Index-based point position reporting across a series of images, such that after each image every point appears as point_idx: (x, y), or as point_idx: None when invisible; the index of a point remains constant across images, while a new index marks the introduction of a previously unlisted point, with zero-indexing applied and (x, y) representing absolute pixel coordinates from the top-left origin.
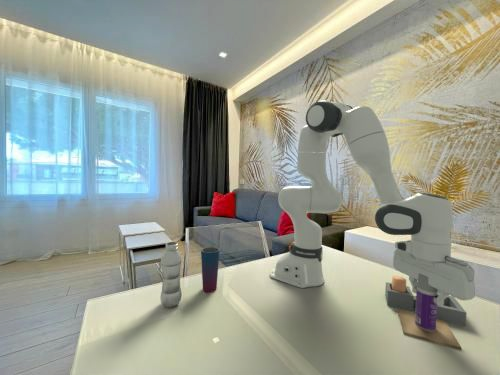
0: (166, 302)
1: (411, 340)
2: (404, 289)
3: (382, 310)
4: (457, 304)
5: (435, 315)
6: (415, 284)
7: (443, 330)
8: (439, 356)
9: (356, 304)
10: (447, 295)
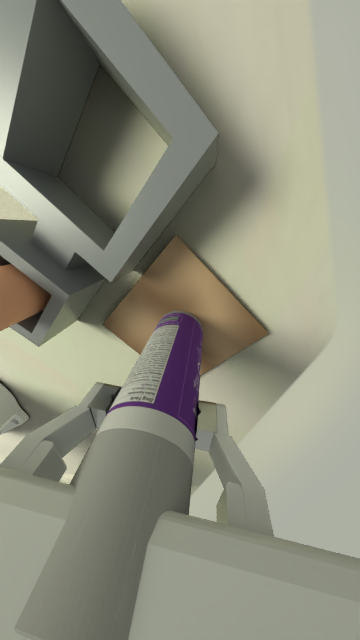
0: None
1: (200, 387)
2: (25, 298)
3: (101, 351)
4: (136, 57)
5: (200, 361)
6: (79, 432)
7: (209, 302)
8: (250, 385)
9: (78, 379)
10: (256, 489)
